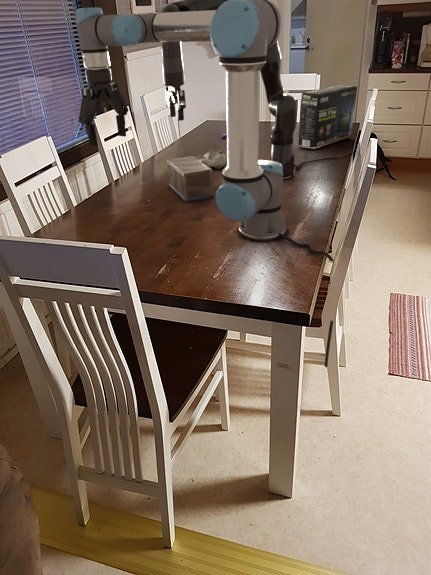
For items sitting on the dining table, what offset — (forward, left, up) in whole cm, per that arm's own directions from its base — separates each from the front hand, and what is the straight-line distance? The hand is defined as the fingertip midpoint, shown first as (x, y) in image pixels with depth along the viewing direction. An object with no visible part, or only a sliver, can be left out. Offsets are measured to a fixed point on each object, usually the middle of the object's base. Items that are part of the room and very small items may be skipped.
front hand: (108, 140), depth 148 cm
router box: (-31, -131, -28) cm, 137 cm away
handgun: (+19, -119, -28) cm, 124 cm away
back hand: (-4, -34, +1) cm, 34 cm away
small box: (-6, -36, -28) cm, 46 cm away
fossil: (+5, -73, -28) cm, 78 cm away
